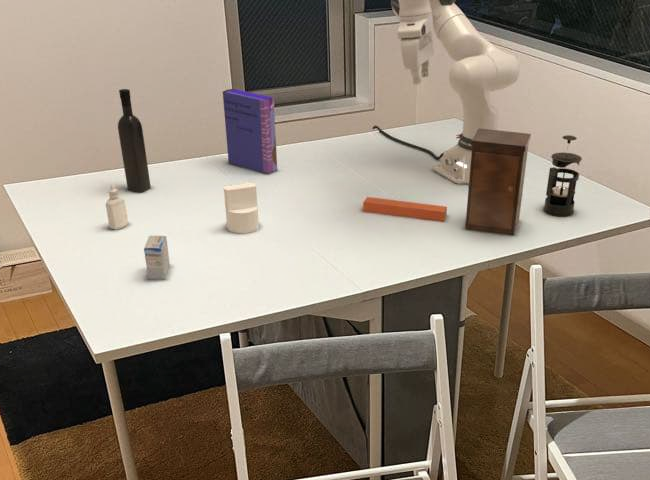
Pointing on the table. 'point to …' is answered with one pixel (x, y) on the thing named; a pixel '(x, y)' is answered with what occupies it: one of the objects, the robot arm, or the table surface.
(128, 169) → the wine bottle
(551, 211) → the french press
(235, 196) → the cylinder with rectangular tab
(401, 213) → the orange rectangular bar
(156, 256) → the medicine box
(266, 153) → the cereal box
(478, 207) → the cabinet
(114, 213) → the eye dropper bottle
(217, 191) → the table surface
